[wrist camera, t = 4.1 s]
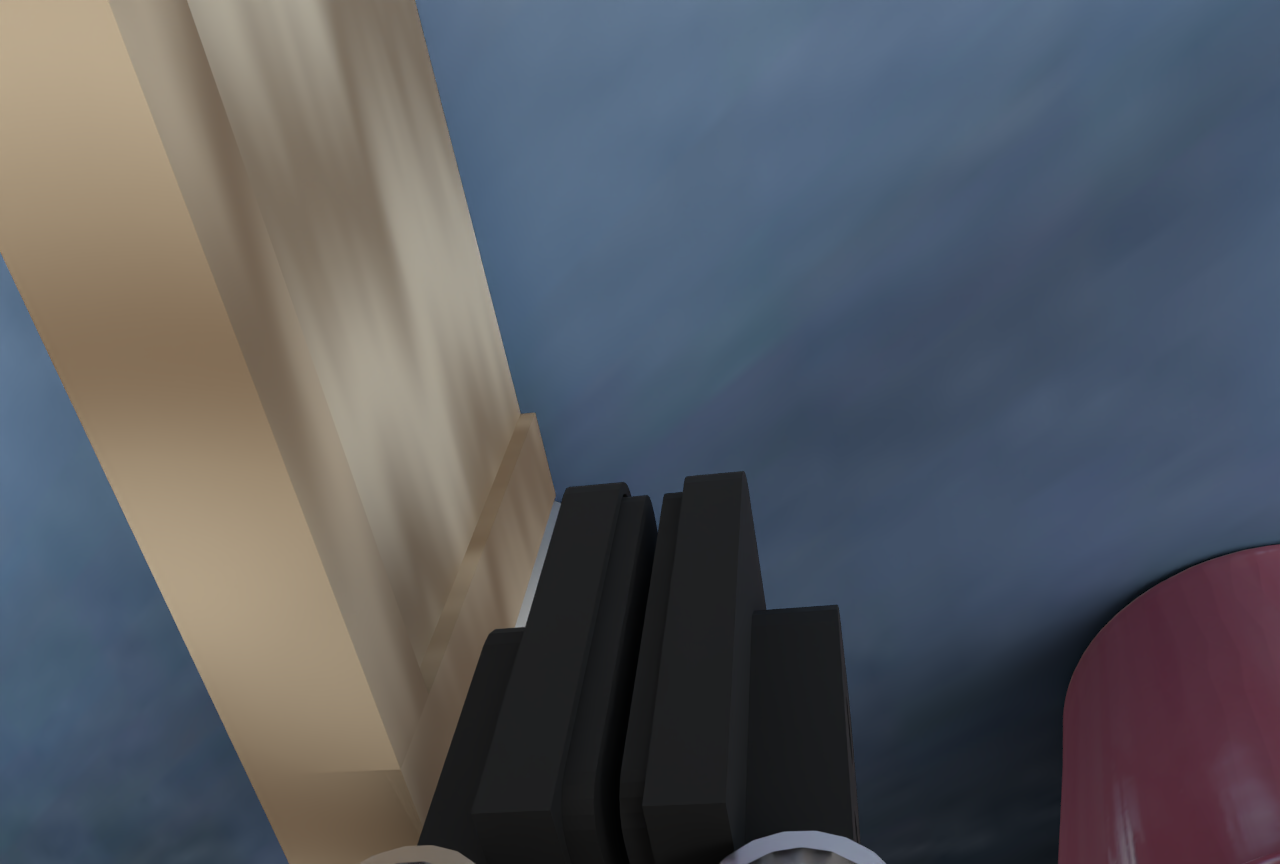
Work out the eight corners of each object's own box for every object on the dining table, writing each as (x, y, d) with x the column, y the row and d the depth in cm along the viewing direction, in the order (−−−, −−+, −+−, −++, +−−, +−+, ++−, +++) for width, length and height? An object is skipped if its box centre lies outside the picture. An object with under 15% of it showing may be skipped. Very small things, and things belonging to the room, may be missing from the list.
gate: (127, -586, 16) (-539, -891, 8) (276, -627, 16) (-270, -991, 8) (455, 503, 25) (293, 874, 17) (555, 495, 24) (438, 870, 16)
